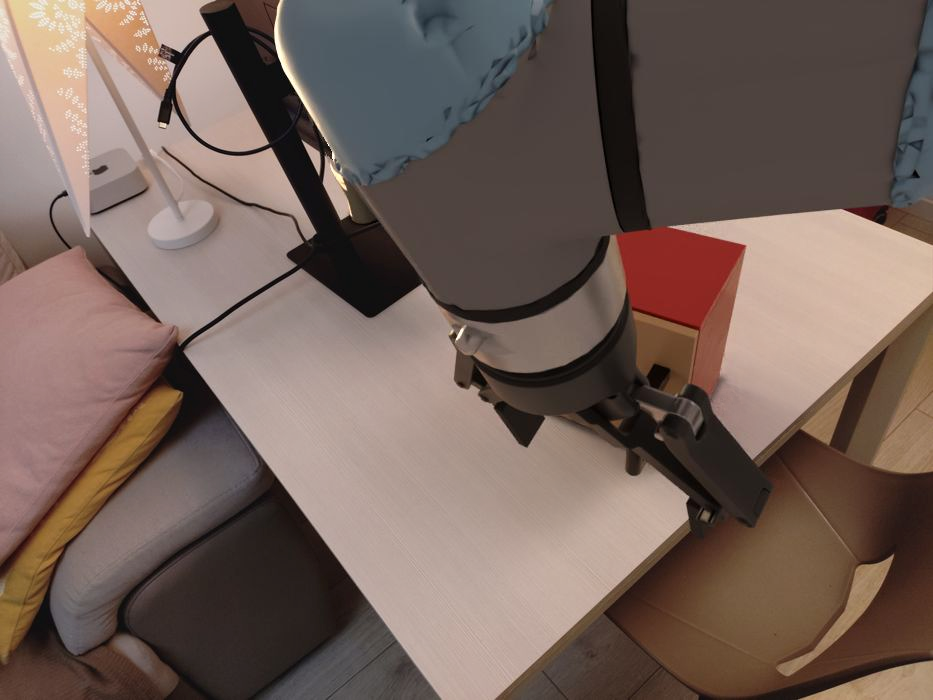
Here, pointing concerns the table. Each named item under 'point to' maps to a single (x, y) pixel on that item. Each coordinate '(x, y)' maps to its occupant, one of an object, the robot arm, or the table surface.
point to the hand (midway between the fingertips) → (612, 471)
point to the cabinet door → (660, 364)
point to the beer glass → (353, 198)
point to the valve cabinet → (685, 287)
